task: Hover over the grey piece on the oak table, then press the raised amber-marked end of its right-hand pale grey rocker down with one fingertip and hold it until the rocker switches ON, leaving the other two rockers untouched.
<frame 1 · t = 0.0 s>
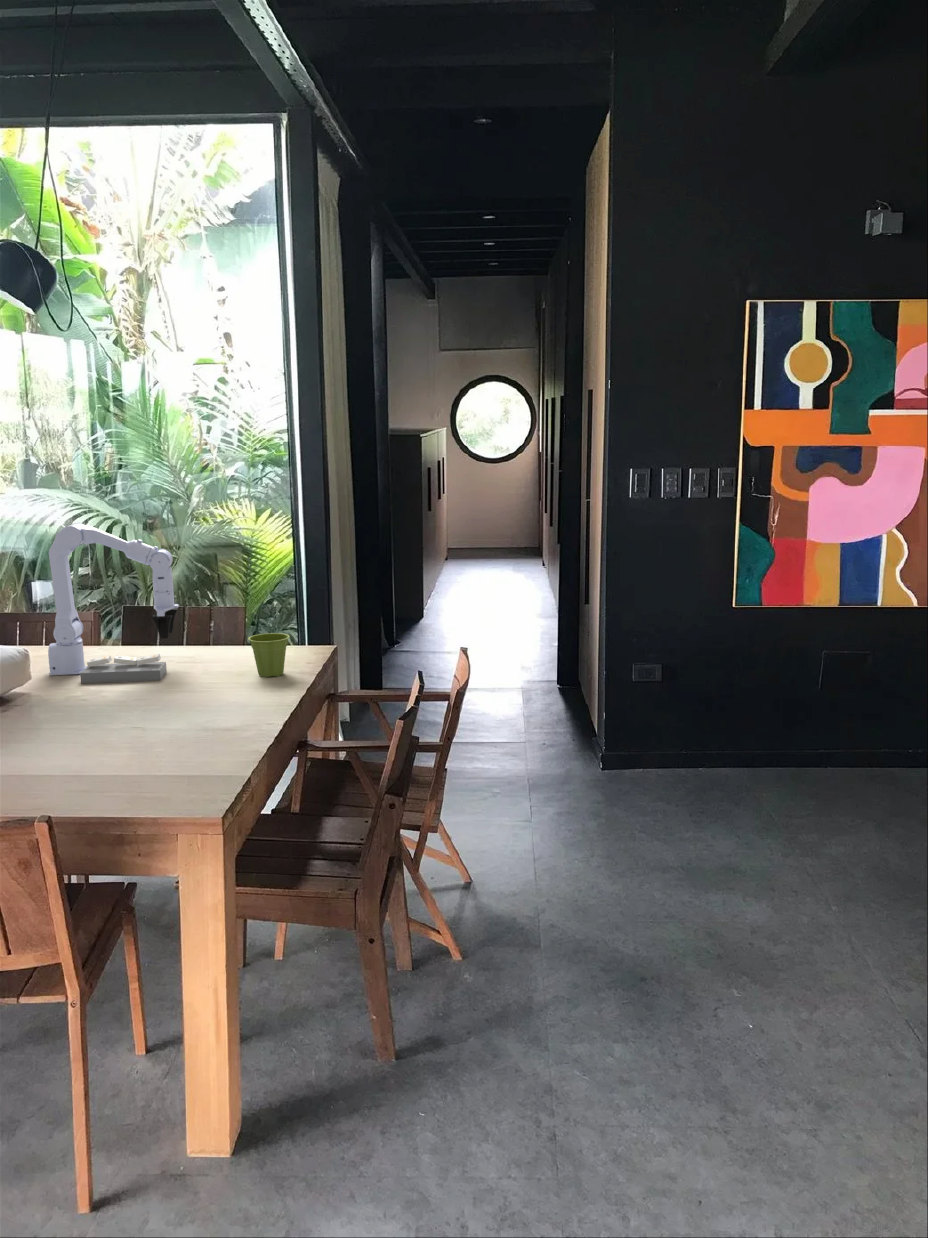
hand: (166, 635, 291), 10 cm above the table, tool pointing down, fingers open, 7 cm apart
rocker middle: (125, 660, 284), point 5 cm above the table, hinge at 9.0°
rocker right: (148, 659, 284), point 5 cm above the table, hinge at -9.0°
grey piece: (124, 677, 283), on the table
plant pot: (270, 675, 285), on the table
rocker left: (99, 661, 283), point 5 cm above the table, hinge at -9.0°
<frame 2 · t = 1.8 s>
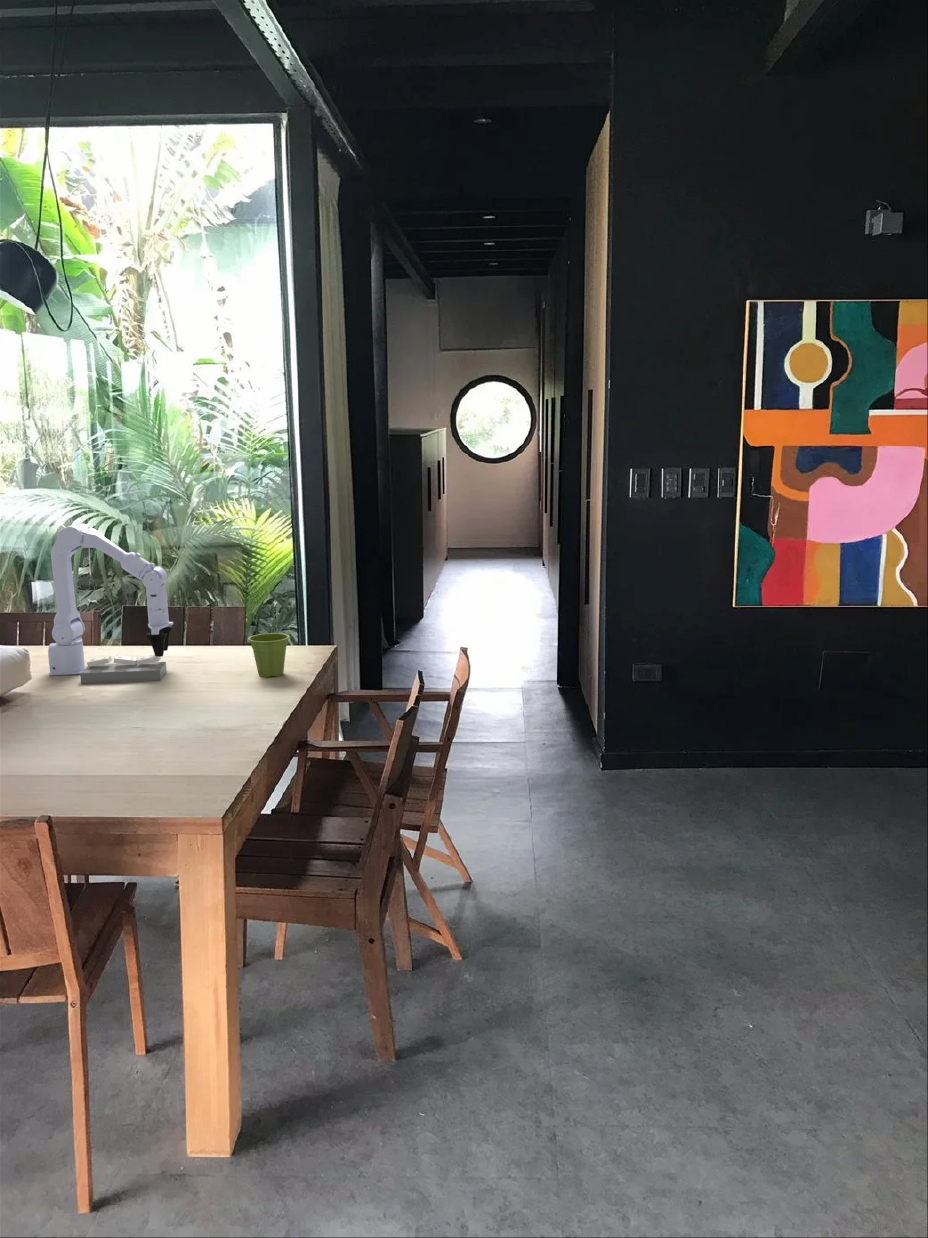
hand: (161, 653, 288), 5 cm above the table, tool pointing down, fingers open, 7 cm apart
rocker right: (148, 659, 284), point 5 cm above the table, hinge at -8.5°, touching gripper
everything else where it was.
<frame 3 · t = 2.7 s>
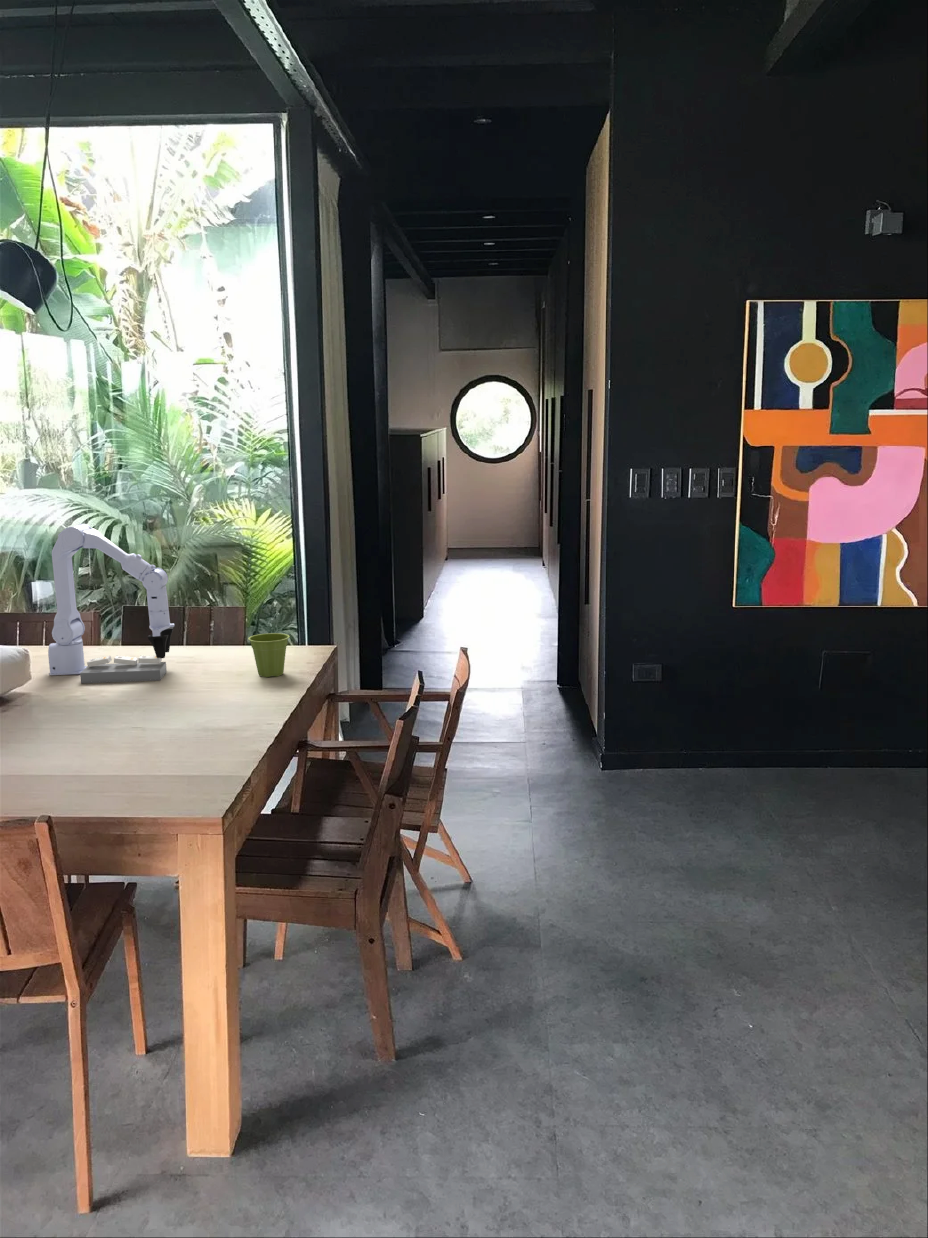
hand: (163, 655, 288), 5 cm above the table, tool pointing down, fingers open, 7 cm apart
rocker right: (150, 659, 284), point 5 cm above the table, hinge at 3.4°, touching gripper
everything else where it was.
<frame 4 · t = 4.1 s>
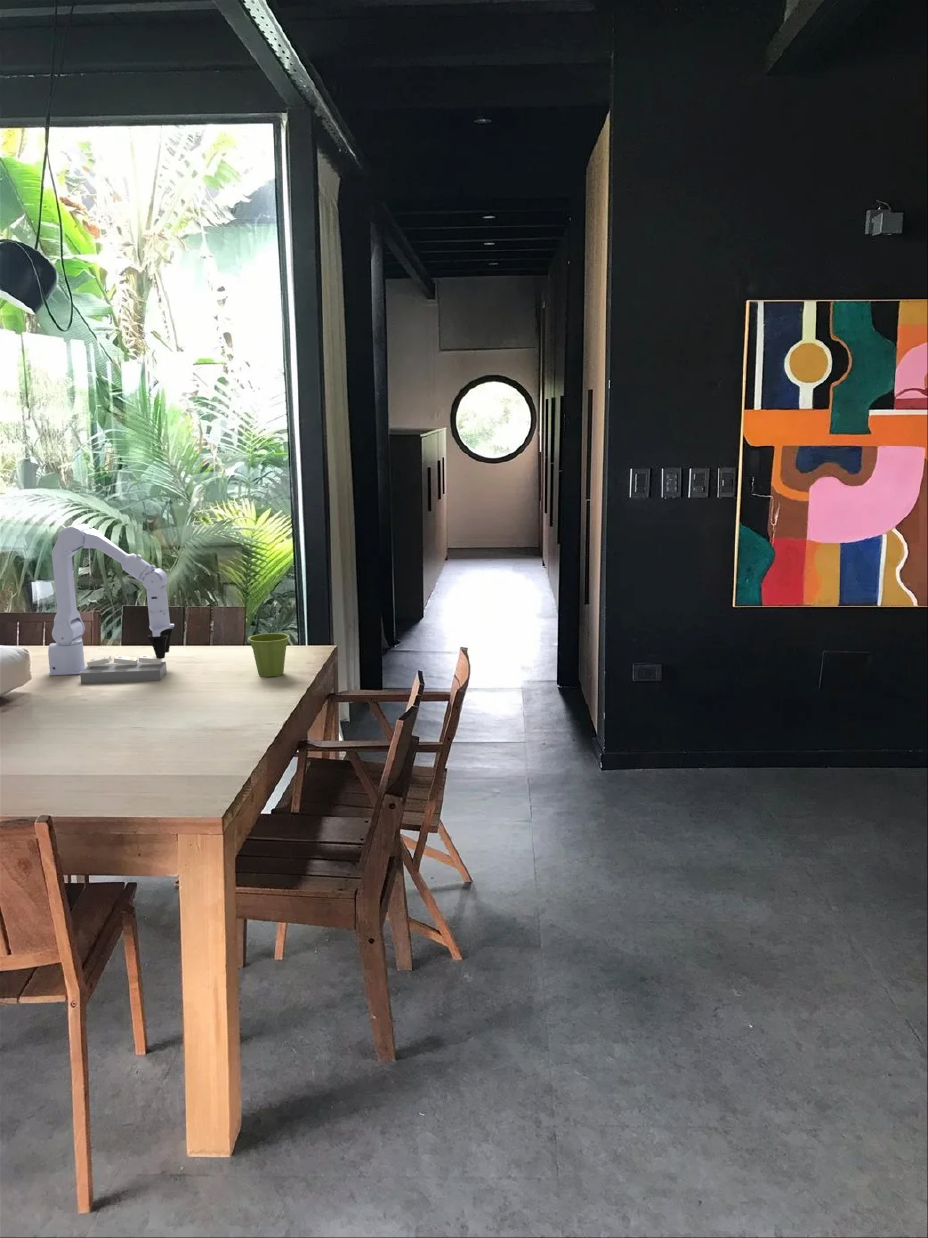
hand: (163, 655, 288), 5 cm above the table, tool pointing down, fingers open, 7 cm apart
rocker right: (150, 659, 284), point 5 cm above the table, hinge at 7.4°, touching gripper
everything else where it was.
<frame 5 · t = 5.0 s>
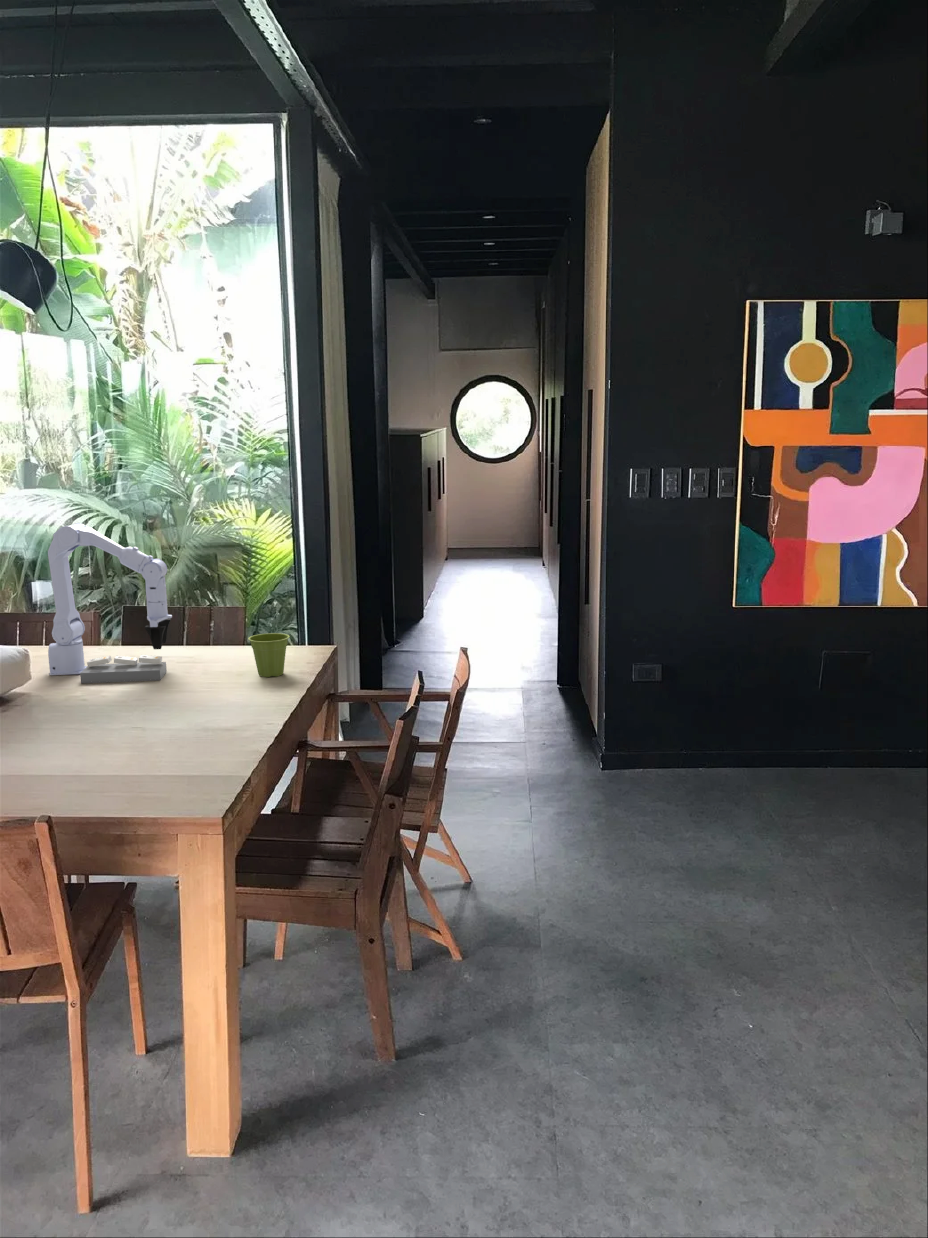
hand: (159, 646, 288), 8 cm above the table, tool pointing down, fingers open, 7 cm apart
rocker right: (150, 659, 284), point 5 cm above the table, hinge at 7.1°
everything else where it was.
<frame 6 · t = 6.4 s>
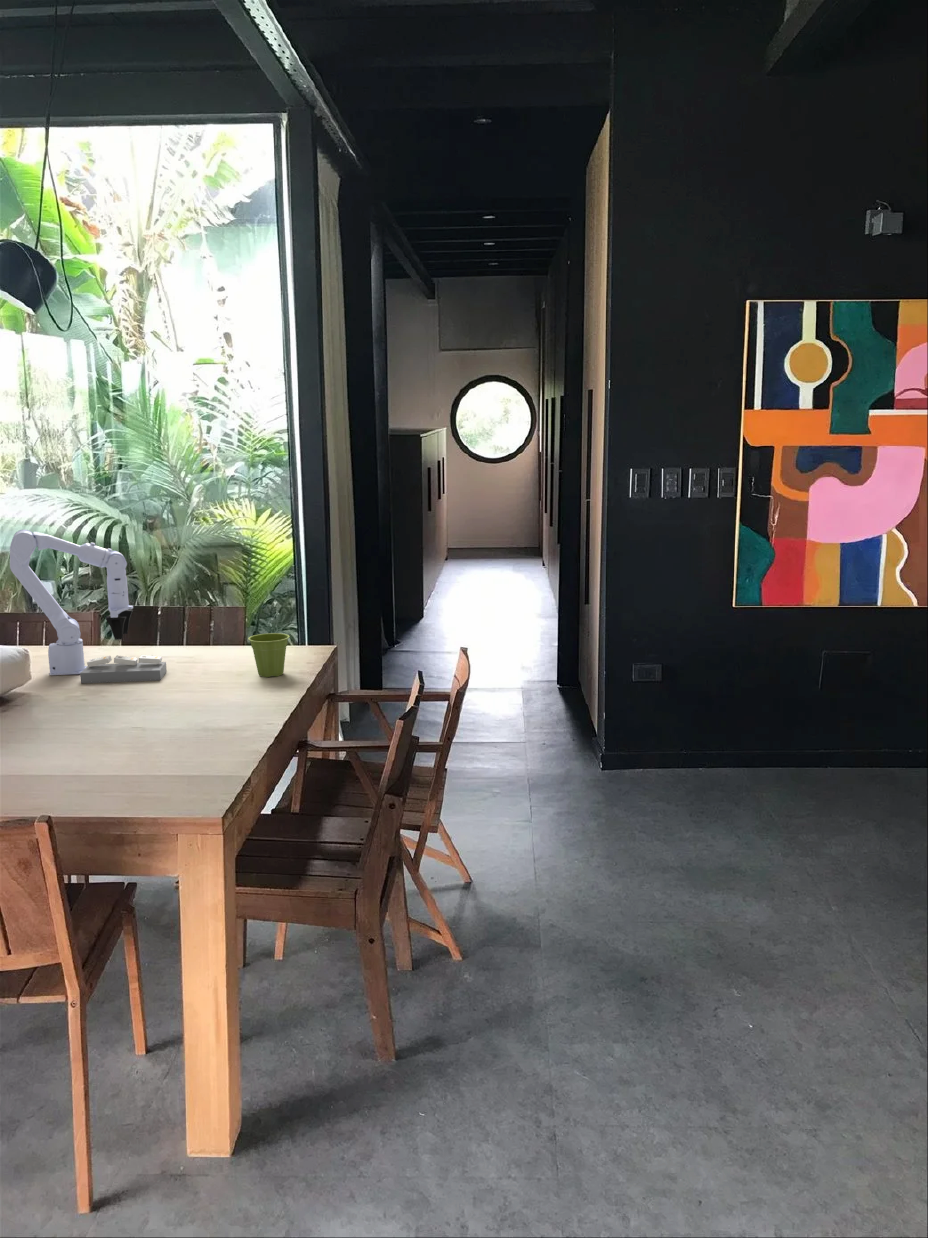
hand: (121, 636, 293), 9 cm above the table, tool pointing down, fingers open, 7 cm apart
rocker right: (150, 659, 284), point 5 cm above the table, hinge at 5.5°
everything else where it was.
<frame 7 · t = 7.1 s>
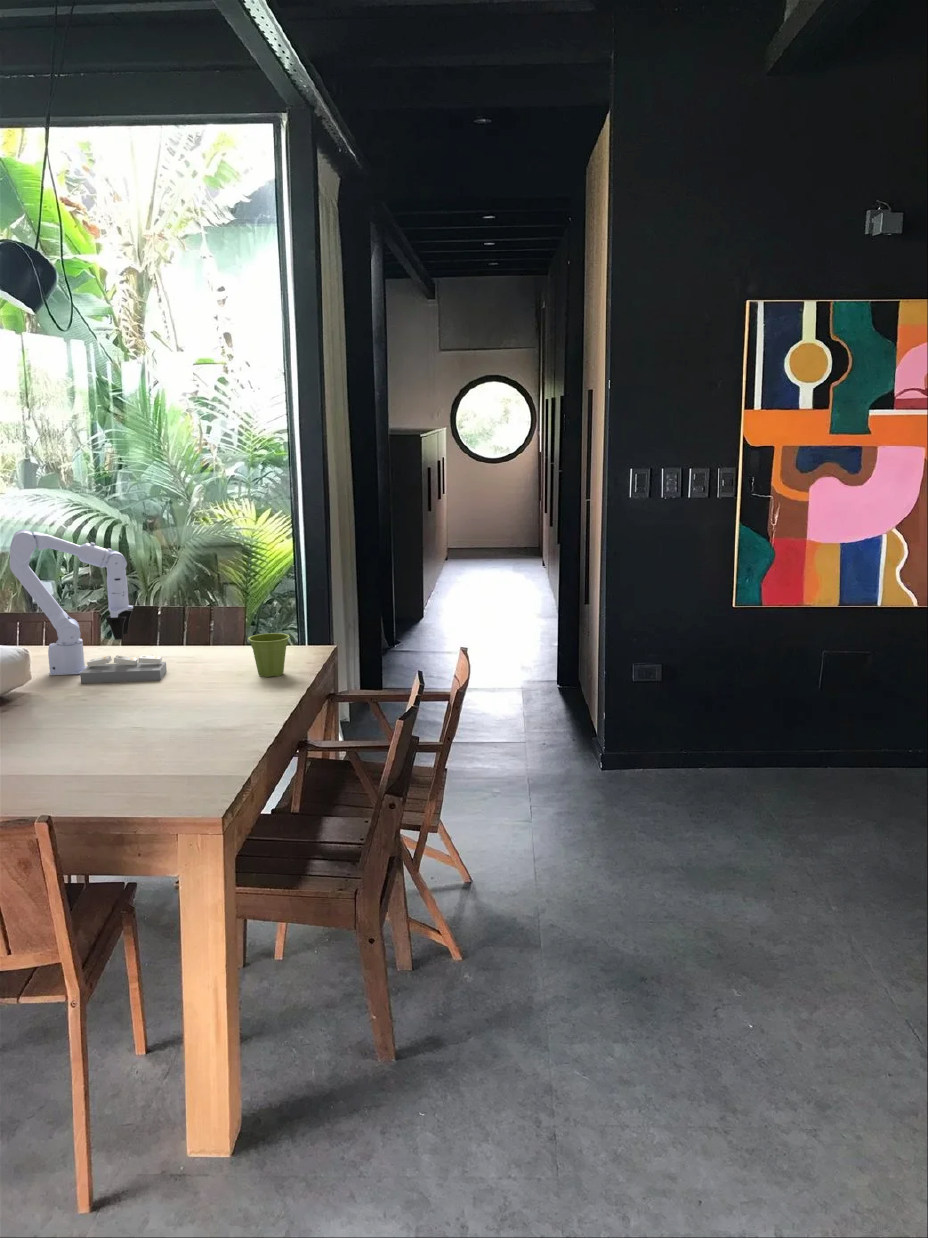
hand: (121, 636, 293), 9 cm above the table, tool pointing down, fingers open, 7 cm apart
rocker right: (150, 659, 284), point 5 cm above the table, hinge at 5.1°
everything else where it was.
at the end: rocker right at +5° (first picture: -9°); rocker middle at +9° (first picture: +9°); rocker left at -9° (first picture: -9°) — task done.
